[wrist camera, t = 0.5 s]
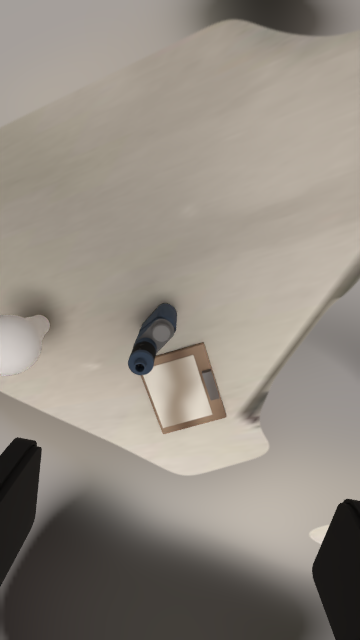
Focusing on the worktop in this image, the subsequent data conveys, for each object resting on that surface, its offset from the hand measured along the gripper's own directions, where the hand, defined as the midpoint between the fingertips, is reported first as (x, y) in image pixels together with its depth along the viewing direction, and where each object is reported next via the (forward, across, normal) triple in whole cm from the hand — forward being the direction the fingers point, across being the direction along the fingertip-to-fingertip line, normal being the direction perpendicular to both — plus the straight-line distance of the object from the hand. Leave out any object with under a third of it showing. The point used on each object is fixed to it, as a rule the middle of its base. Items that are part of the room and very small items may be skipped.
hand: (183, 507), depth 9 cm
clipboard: (+30, -2, +12) cm, 32 cm away
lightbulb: (+29, +17, +6) cm, 34 cm away
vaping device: (+30, +3, +3) cm, 30 cm away
